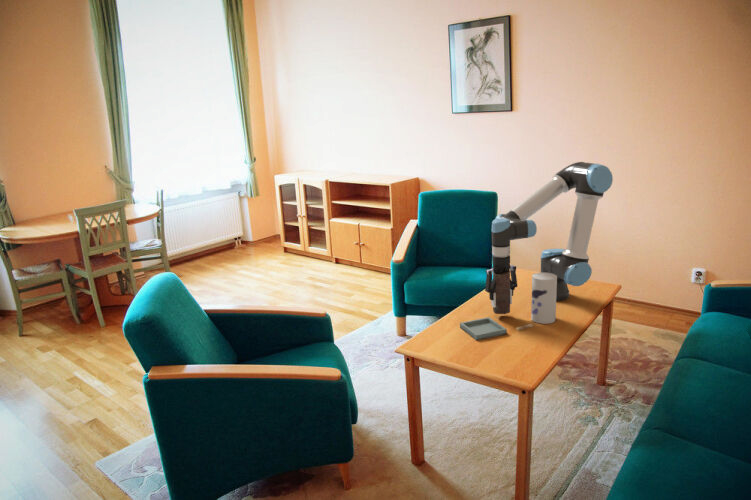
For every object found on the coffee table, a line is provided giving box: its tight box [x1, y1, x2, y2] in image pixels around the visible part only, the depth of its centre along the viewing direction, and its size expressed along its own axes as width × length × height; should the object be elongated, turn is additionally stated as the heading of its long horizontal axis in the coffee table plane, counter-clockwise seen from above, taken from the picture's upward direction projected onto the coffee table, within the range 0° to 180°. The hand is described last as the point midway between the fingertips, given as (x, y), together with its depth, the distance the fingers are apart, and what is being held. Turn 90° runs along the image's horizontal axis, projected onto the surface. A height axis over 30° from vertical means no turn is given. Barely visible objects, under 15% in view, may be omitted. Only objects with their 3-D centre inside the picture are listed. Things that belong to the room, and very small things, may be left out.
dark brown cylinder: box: [492, 269, 511, 315], centre depth 229 cm, size 8×7×20 cm
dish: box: [459, 316, 508, 341], centre depth 219 cm, size 14×14×2 cm
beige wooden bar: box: [515, 323, 534, 331], centre depth 220 cm, size 8×1×1 cm, turn 115°
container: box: [530, 272, 557, 325], centre depth 225 cm, size 10×10×20 cm
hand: (501, 304), depth 231 cm, fingers closed on dark brown cylinder, 7 cm apart
